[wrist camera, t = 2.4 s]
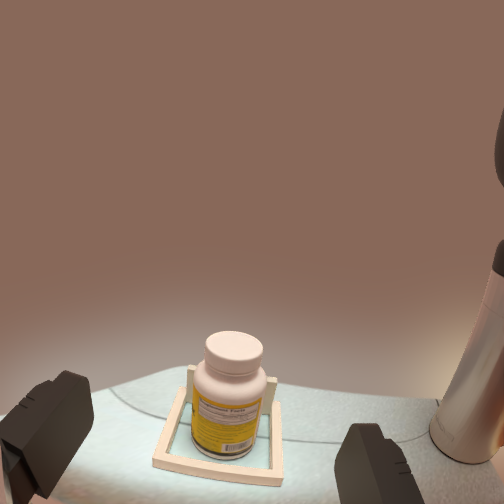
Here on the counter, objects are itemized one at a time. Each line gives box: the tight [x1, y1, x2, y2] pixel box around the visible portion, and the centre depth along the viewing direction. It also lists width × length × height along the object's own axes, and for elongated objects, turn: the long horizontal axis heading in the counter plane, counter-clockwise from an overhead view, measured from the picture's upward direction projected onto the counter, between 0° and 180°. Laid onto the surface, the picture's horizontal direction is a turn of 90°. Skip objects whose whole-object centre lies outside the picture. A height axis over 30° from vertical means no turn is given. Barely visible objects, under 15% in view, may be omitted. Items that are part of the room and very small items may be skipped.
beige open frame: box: [152, 365, 284, 486], centre depth 23 cm, size 10×10×4 cm
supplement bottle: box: [191, 331, 267, 460], centre depth 23 cm, size 5×5×10 cm
